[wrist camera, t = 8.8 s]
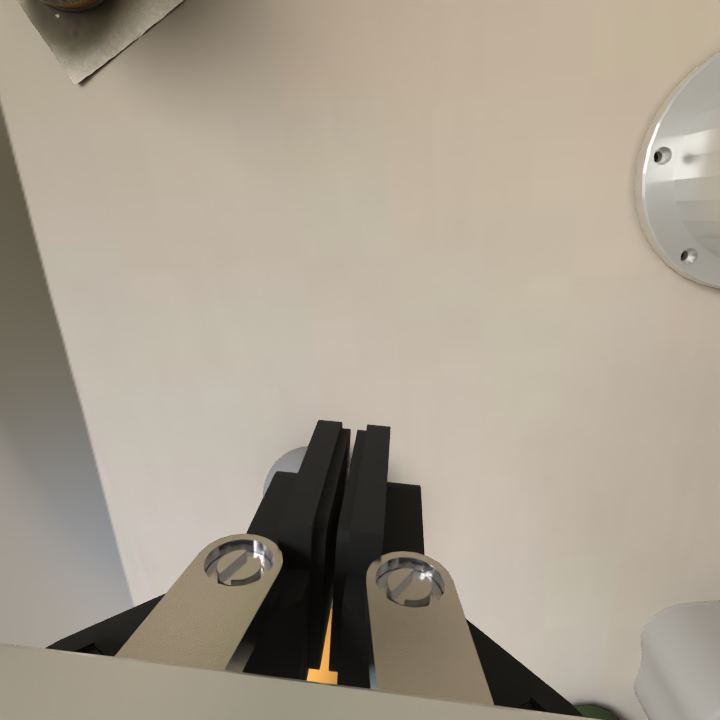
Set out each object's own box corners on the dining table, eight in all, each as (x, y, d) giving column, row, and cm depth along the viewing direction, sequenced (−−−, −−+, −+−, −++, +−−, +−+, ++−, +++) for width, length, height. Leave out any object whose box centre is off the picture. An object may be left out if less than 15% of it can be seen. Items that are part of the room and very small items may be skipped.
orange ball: (352, 712, 30) (350, 698, 35) (361, 609, 33) (358, 609, 37) (260, 701, 30) (271, 689, 35) (276, 600, 33) (284, 601, 37)
